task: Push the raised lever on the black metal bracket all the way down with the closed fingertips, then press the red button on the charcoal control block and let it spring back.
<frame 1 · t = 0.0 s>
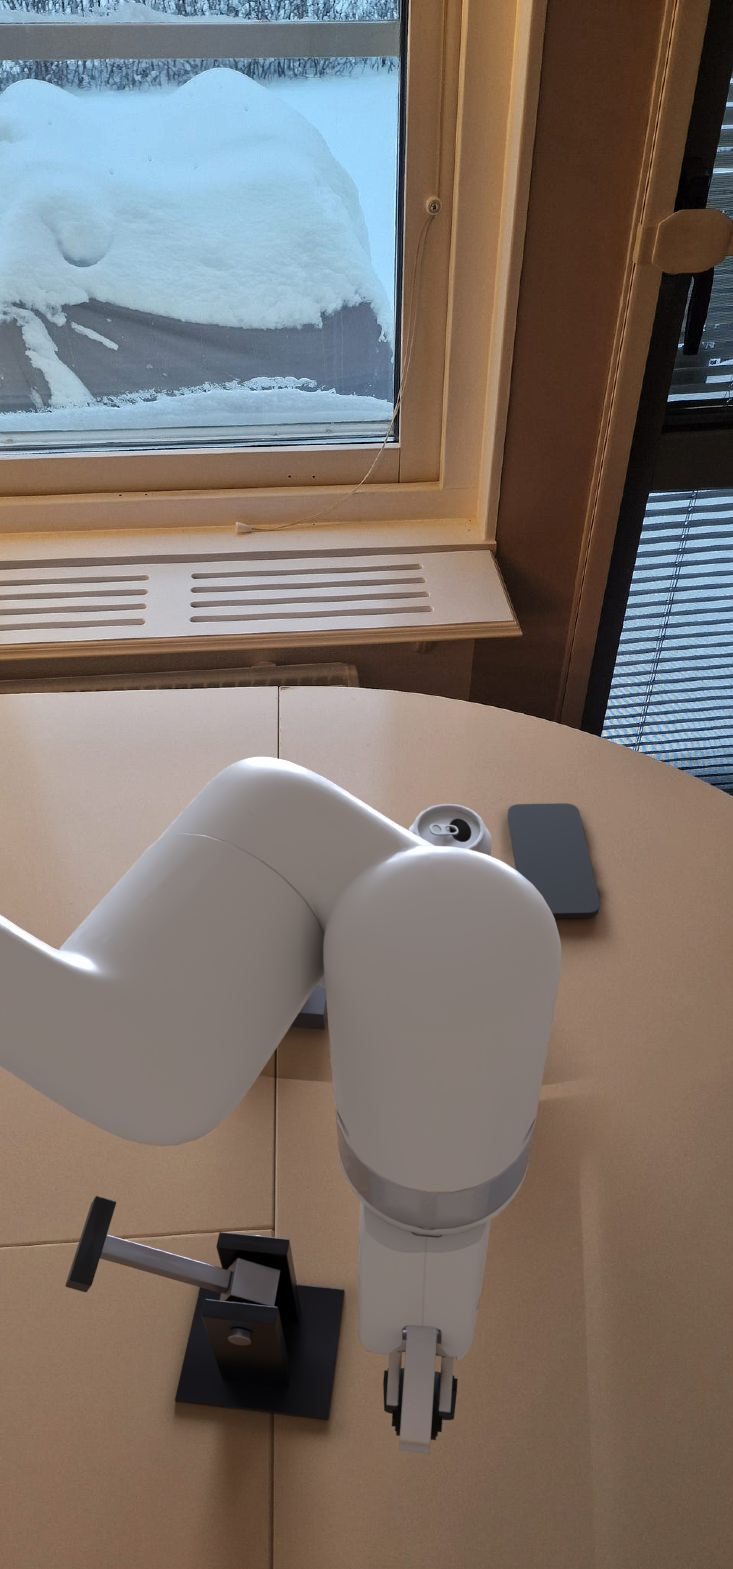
hand: (426, 1300, 51), 21 cm above the table, tool pointing down, fingers open, 9 cm apart
button: (266, 950, 89), point 4 cm above the table, slide at 0.1 cm
bracket: (264, 1349, 70), on the table
lever: (177, 1267, 62), point 12 cm above the table, hinge at 25.0°
phone: (551, 862, 102), on the table
can: (445, 918, 97), on the table
button block: (271, 982, 92), on the table
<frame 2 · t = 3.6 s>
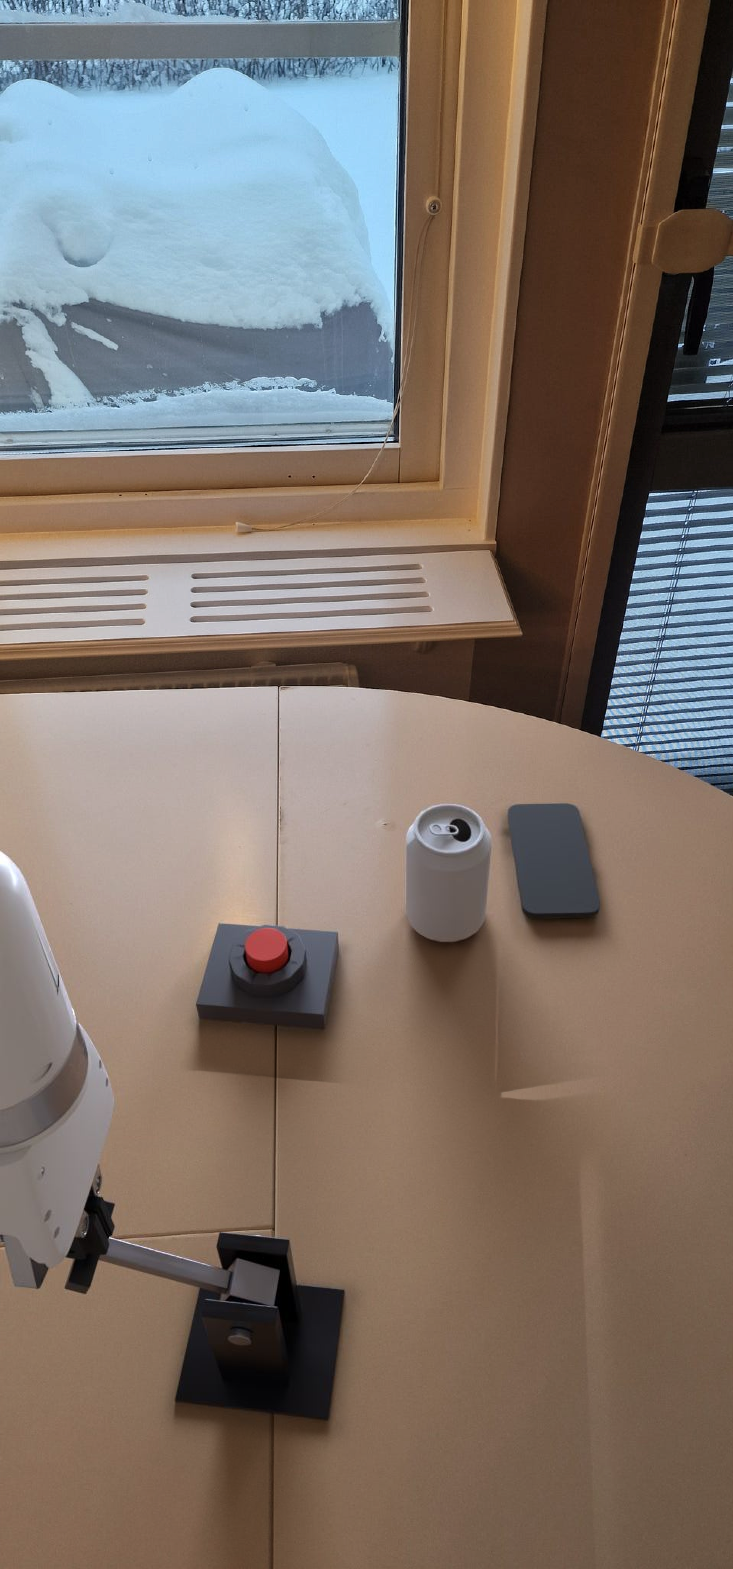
hand: (85, 1238, 61), 15 cm above the table, tool pointing down, fingers closed
lever: (176, 1268, 62), point 12 cm above the table, hinge at 23.1°, touching gripper
everything else where it was.
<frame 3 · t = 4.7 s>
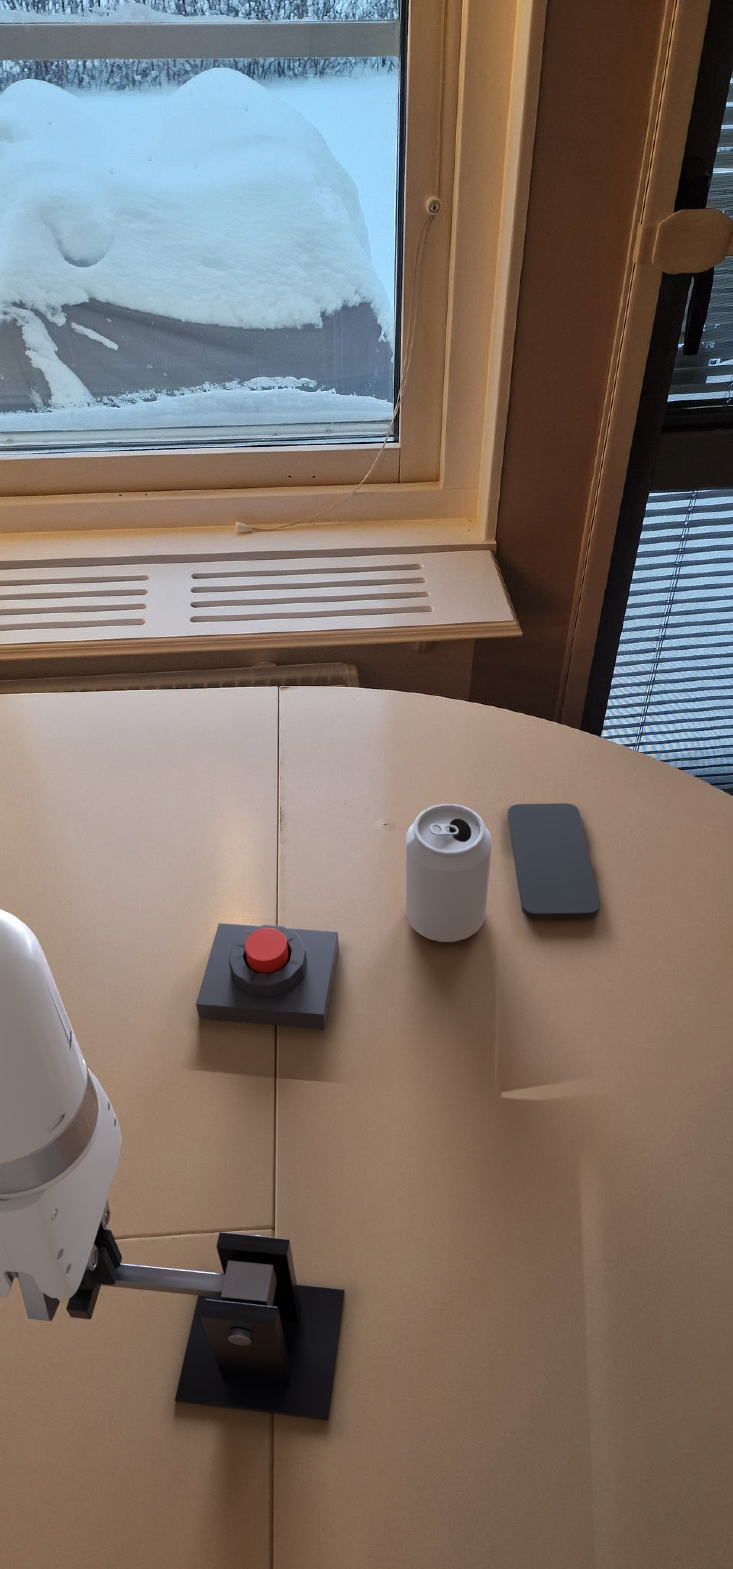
hand: (94, 1269, 64), 11 cm above the table, tool pointing down, fingers closed
lever: (175, 1280, 64), point 10 cm above the table, hinge at -1.0°, touching gripper
everything else where it was.
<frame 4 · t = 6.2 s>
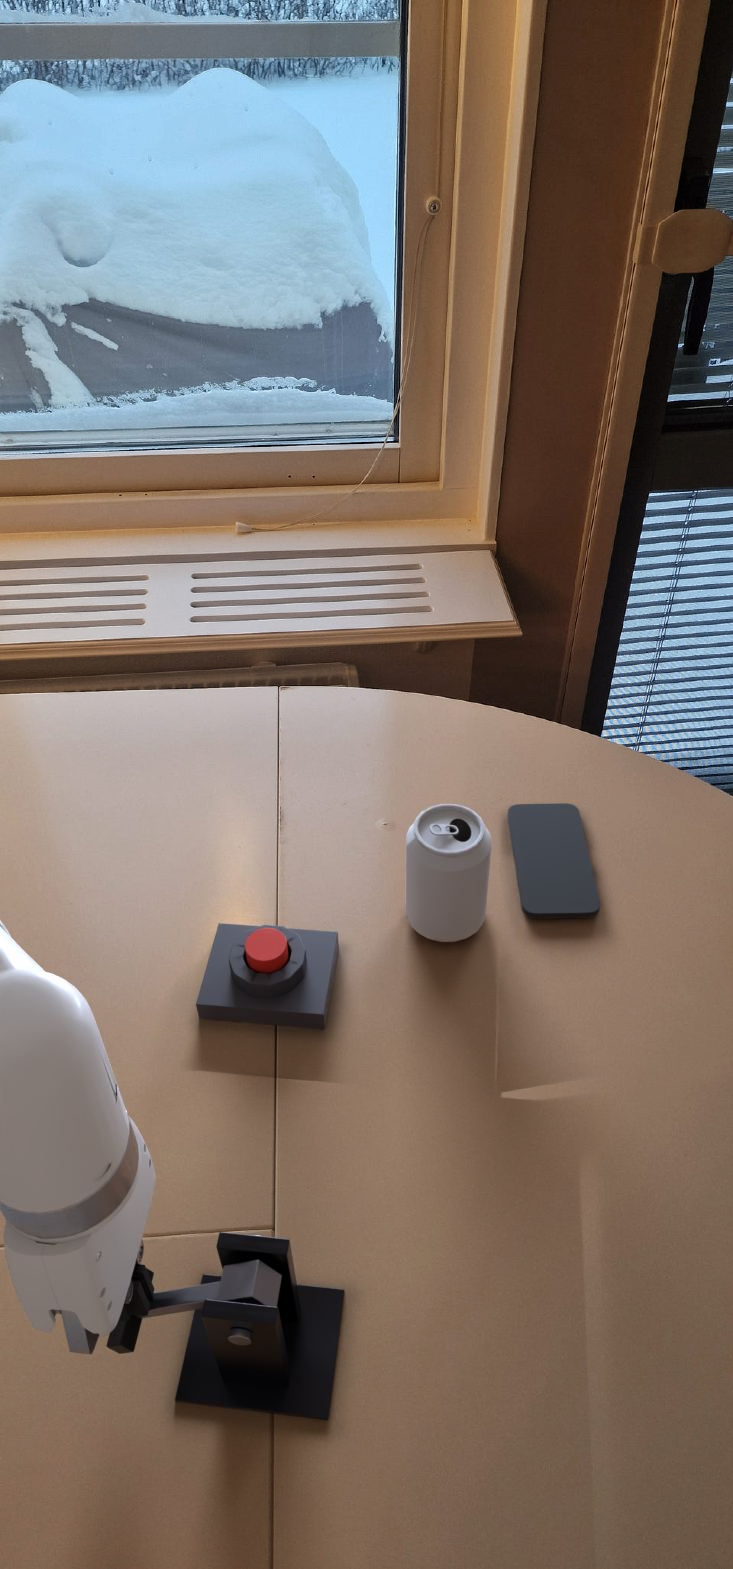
hand: (127, 1300, 66), 6 cm above the table, tool pointing down, fingers closed
lever: (192, 1298, 65), point 8 cm above the table, hinge at -32.7°, touching gripper
everything else where it was.
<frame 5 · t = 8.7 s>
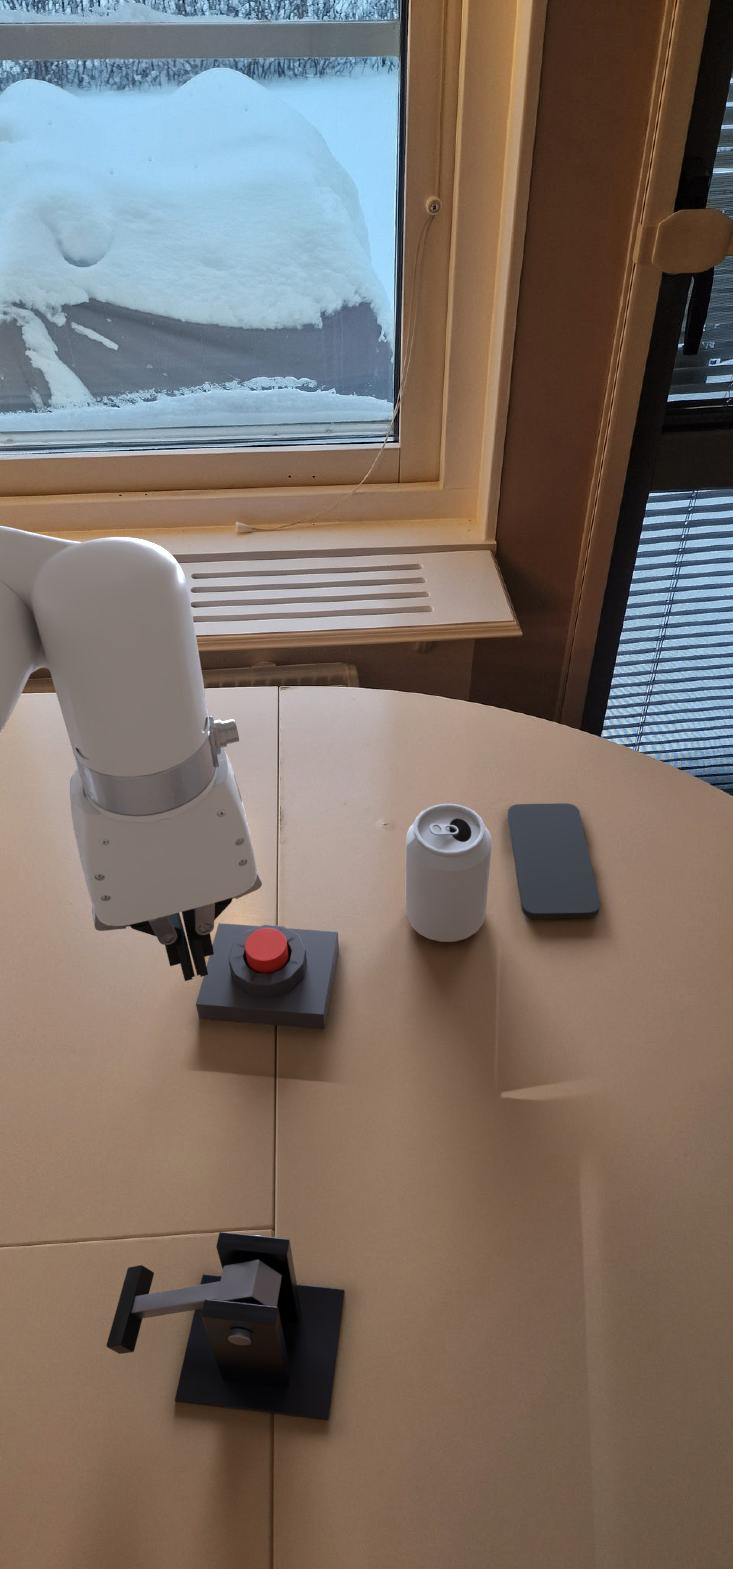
hand: (192, 961, 70), 19 cm above the table, tool pointing down, fingers closed
lever: (192, 1298, 65), point 8 cm above the table, hinge at -32.7°
everything else where it was.
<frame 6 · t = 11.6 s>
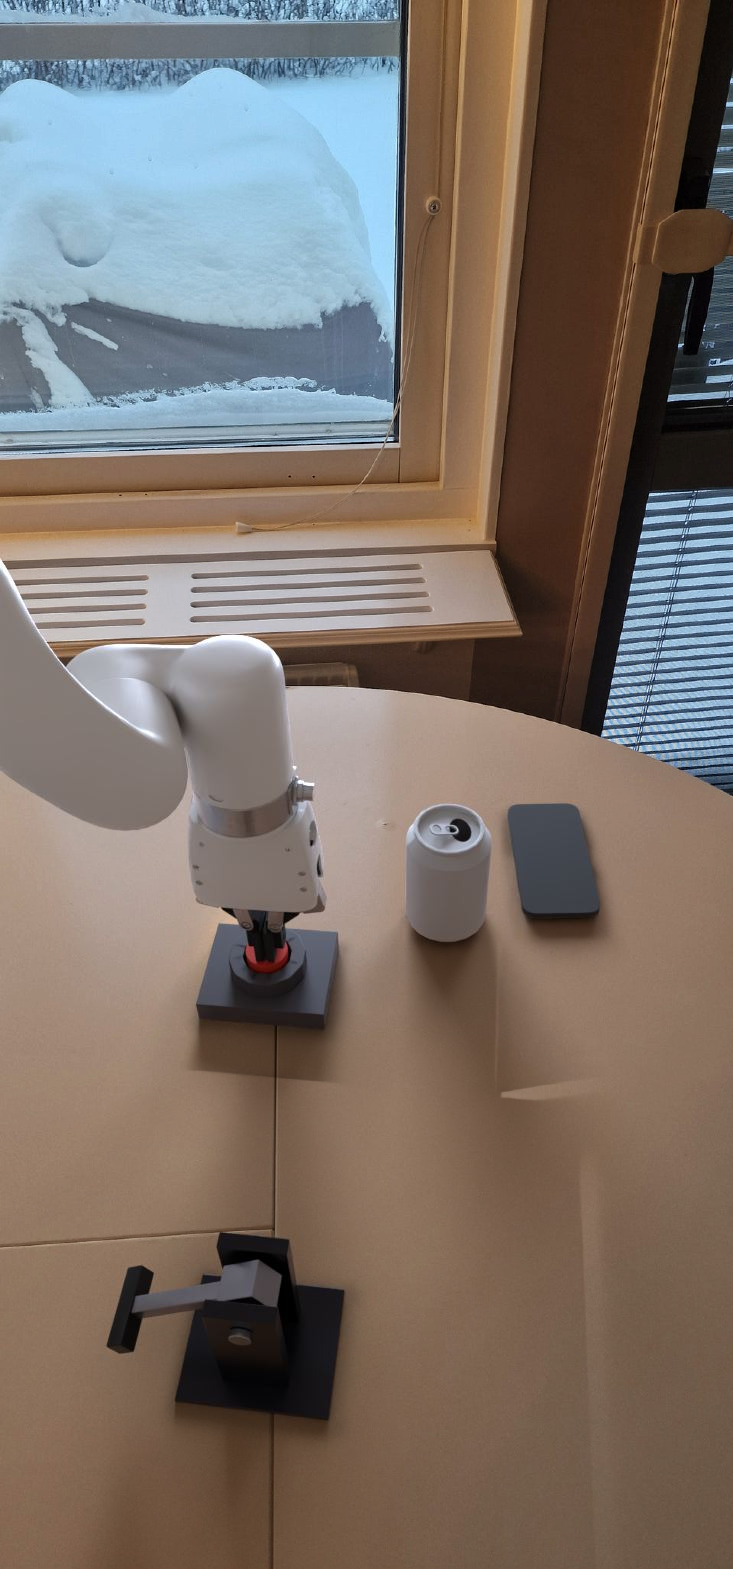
hand: (268, 948, 89), 5 cm above the table, tool pointing down, fingers closed
button: (267, 955, 90), point 4 cm above the table, slide at -0.6 cm, touching gripper
everything else where it was.
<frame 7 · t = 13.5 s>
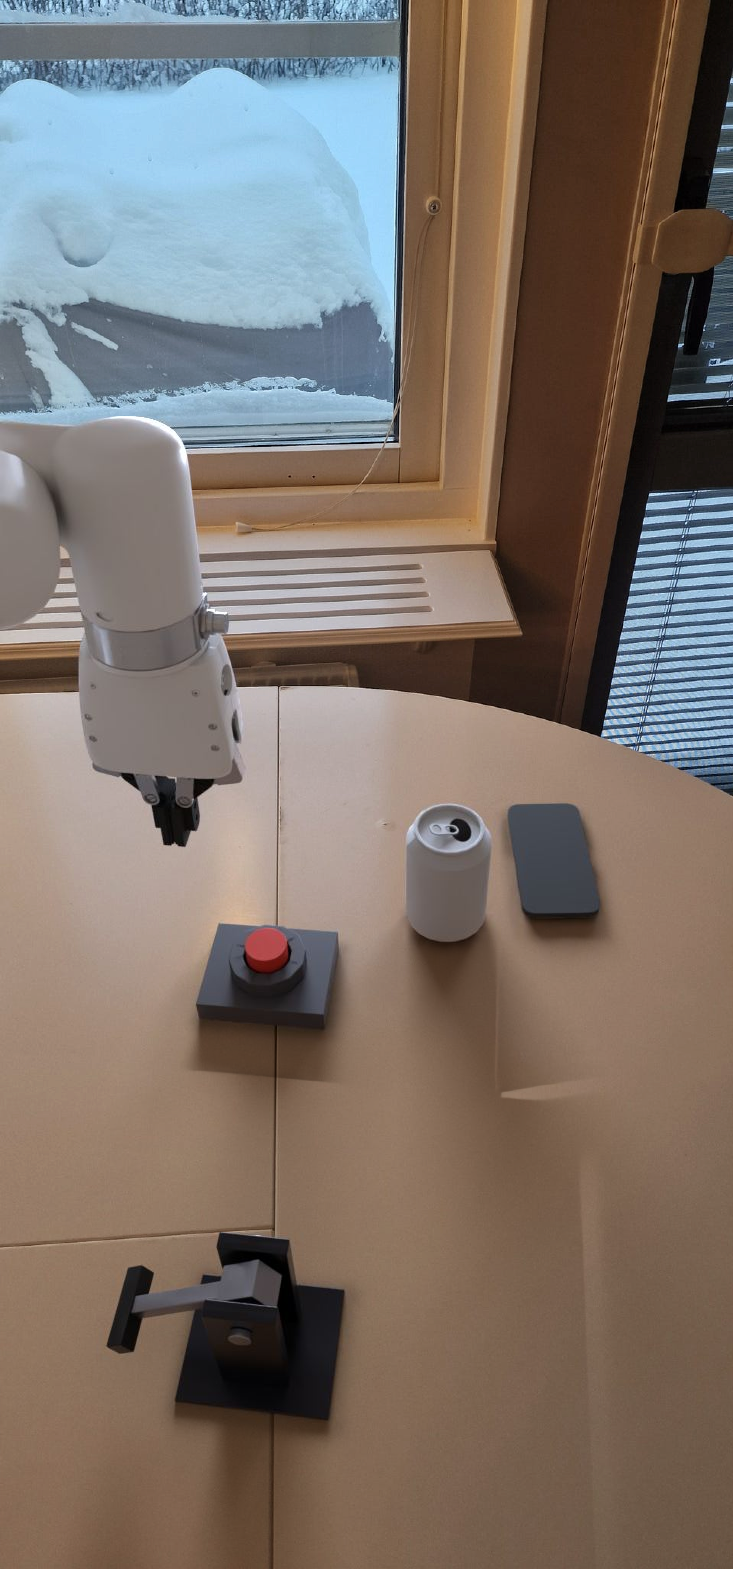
hand: (179, 832, 77), 21 cm above the table, tool pointing down, fingers closed
button: (266, 950, 89), point 4 cm above the table, slide at 0.1 cm
everything else where it was.
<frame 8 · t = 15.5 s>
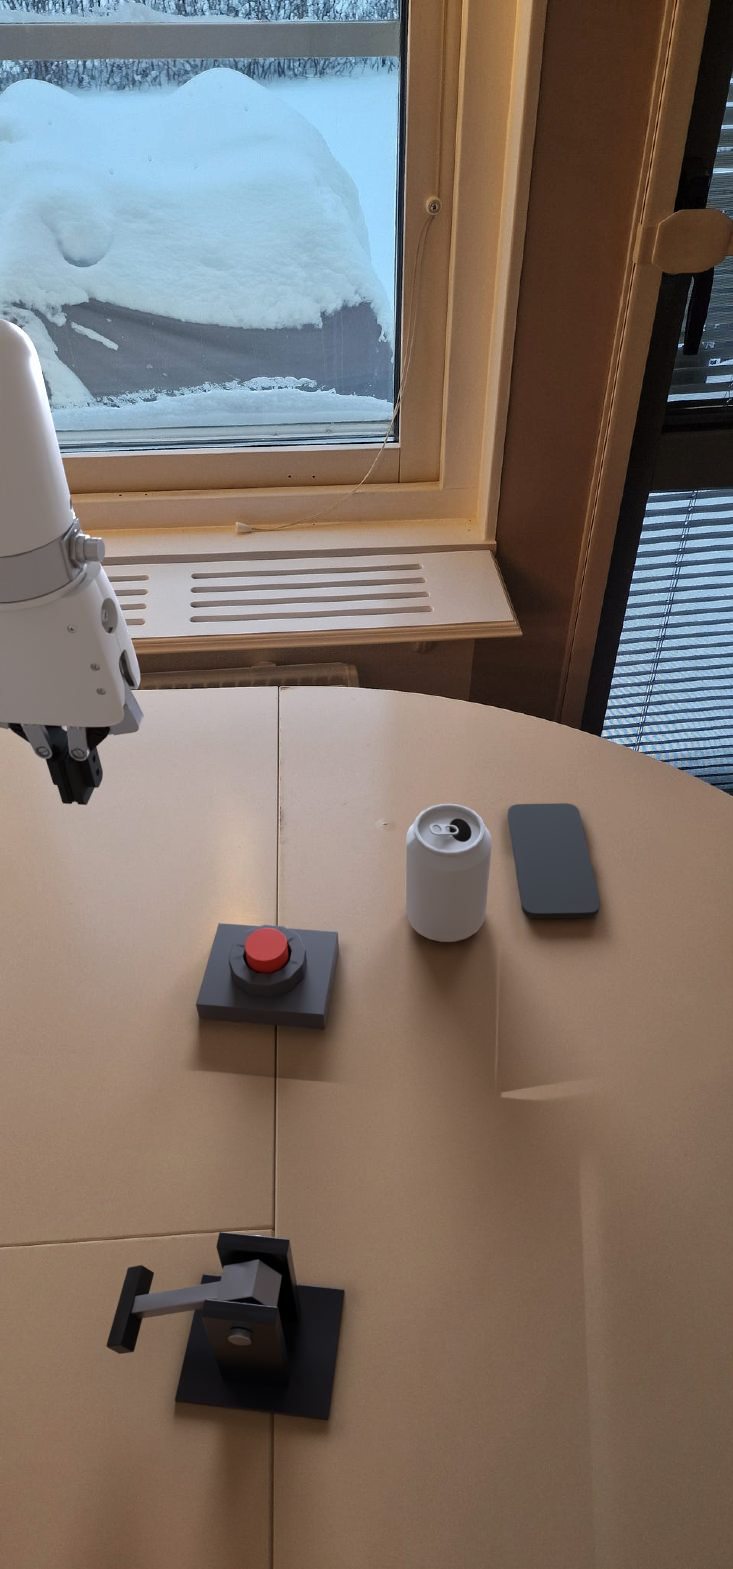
hand: (81, 790, 71), 27 cm above the table, tool pointing down, fingers closed
nothing on the table moved.
at the end: lever at -33° (first picture: +25°); button pushed in 1.1 cm at the most during the clip, back to where it started at the end; button slide at 0.1 cm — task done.
